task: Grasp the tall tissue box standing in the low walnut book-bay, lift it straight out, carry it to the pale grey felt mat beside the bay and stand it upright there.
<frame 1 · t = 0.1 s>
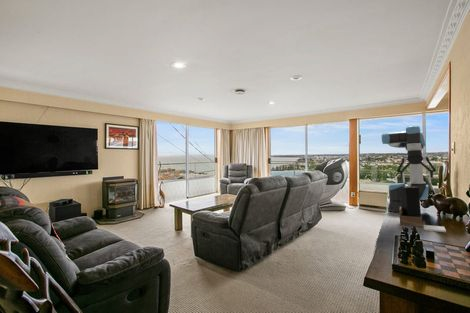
hand: (416, 182, 154), 28 cm above the table, fingers open, 13 cm apart
tissue box: (412, 224, 160), resting in book bay
book bay: (412, 223, 160), on the table
felt mat: (434, 229, 146), on the table
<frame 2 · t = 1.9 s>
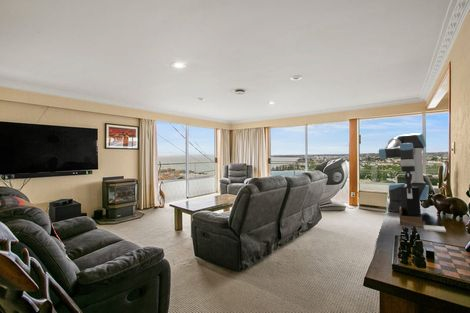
hand: (409, 197, 161), 18 cm above the table, fingers open, 13 cm apart
nothing on the table moved.
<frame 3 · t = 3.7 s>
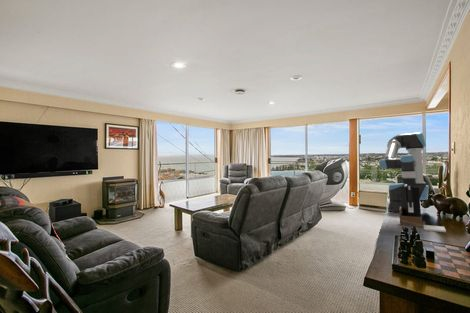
hand: (411, 210, 161), 9 cm above the table, fingers closed on tissue box, 9 cm apart
tissue box: (412, 224, 160), resting in book bay, touching gripper
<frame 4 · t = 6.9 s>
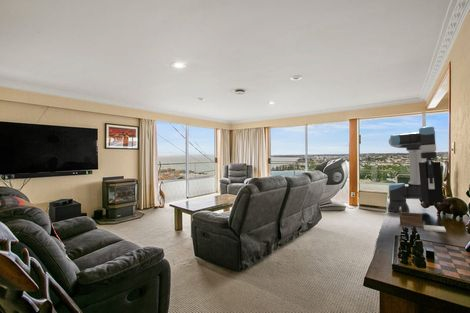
hand: (431, 188, 147), 25 cm above the table, fingers closed on tissue box, 9 cm apart
tissue box: (432, 202, 146), point 16 cm above the table, touching gripper
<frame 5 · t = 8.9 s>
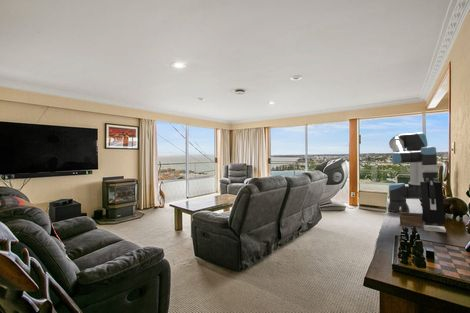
hand: (432, 208, 146), 13 cm above the table, fingers closed on tissue box, 9 cm apart
tissue box: (433, 222, 146), point 4 cm above the table, touching gripper
when the fingers open (11 cm above the table, at t = 10.4 s): tissue box stays where it is, resting on felt mat.
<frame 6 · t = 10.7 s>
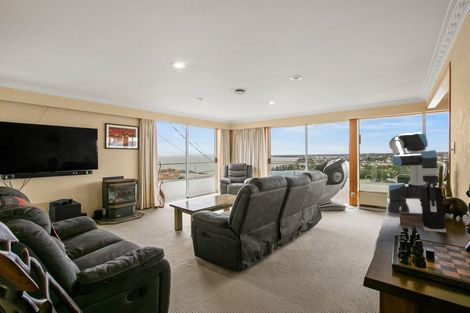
hand: (432, 209, 146), 12 cm above the table, fingers open, 13 cm apart
tissue box: (434, 227, 146), point 1 cm above the table, touching felt mat
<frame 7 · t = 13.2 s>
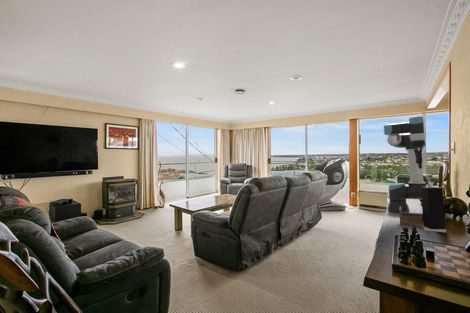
hand: (419, 172, 155), 34 cm above the table, fingers open, 13 cm apart
nothing on the table moved.
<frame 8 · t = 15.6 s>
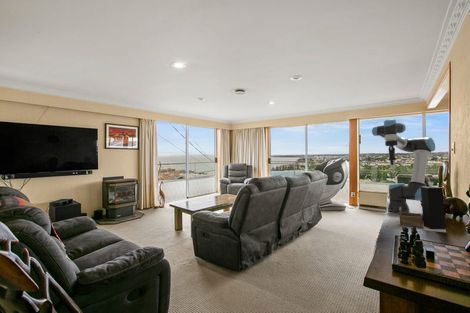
hand: (393, 169, 176), 37 cm above the table, fingers open, 13 cm apart
nothing on the table moved.
at the end: tissue box inside the target area on the felt mat (0.0 cm from its centre), point 0.8 cm above the felt mat's base; tissue box tilted 0°; the gripper is holding nothing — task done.
